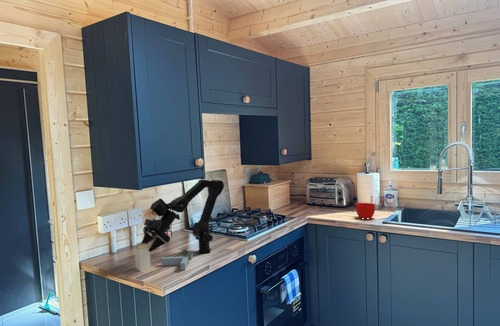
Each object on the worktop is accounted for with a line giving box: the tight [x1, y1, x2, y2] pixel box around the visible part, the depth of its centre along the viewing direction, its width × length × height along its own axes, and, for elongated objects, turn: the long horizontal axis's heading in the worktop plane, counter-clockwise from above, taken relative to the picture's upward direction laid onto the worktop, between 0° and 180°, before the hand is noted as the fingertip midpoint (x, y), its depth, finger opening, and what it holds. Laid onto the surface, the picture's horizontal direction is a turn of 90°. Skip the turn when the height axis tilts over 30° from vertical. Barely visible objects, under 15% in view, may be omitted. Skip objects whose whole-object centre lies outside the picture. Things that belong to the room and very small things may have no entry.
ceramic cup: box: [355, 202, 376, 220], centre depth 253 cm, size 13×17×10 cm
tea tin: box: [133, 243, 151, 272], centre depth 167 cm, size 5×5×11 cm
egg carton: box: [168, 249, 194, 261], centre depth 177 cm, size 11×8×4 cm
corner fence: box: [160, 256, 190, 272], centre depth 167 cm, size 10×12×4 cm
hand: (145, 249), depth 167 cm, fingers open, 9 cm apart
